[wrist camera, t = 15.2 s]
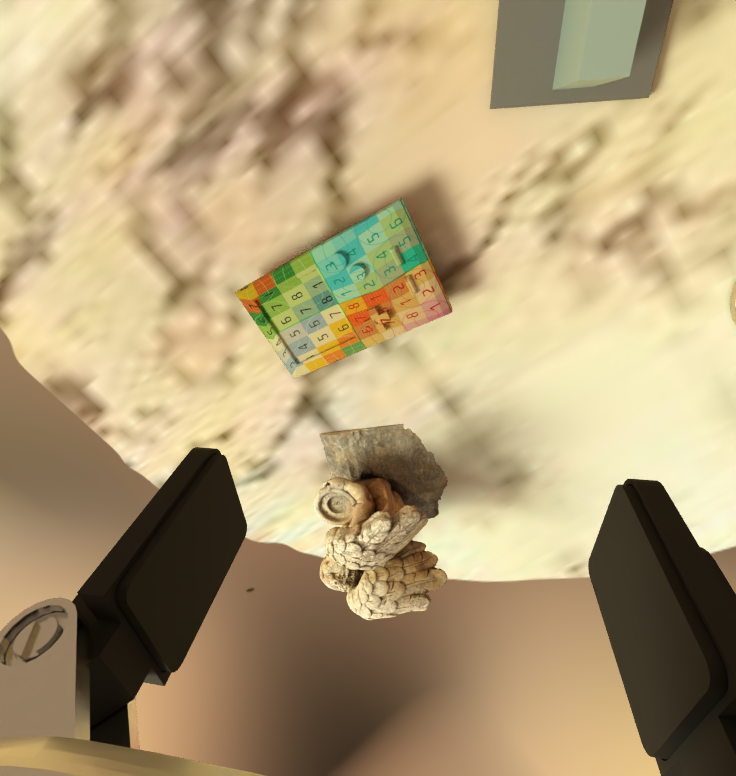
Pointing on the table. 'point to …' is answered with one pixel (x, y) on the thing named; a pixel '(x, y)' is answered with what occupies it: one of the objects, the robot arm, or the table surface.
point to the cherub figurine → (379, 519)
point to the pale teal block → (597, 42)
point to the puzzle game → (348, 292)
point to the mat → (540, 49)
